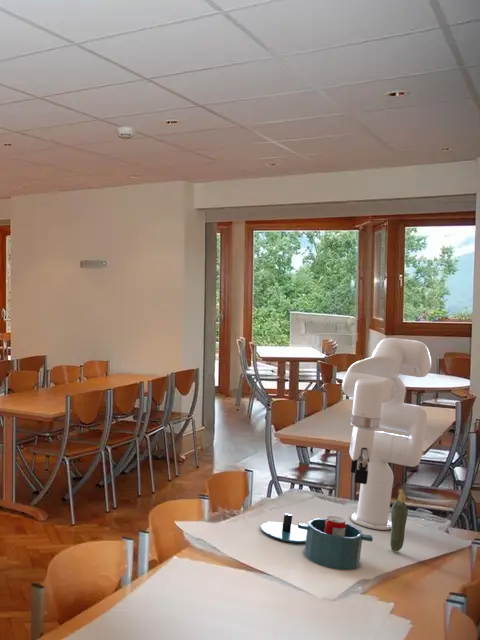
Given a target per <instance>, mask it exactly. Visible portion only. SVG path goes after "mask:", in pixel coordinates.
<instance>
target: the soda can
mask: <svg viewBox="0 0 480 640" xmlns="http://www.w3.org/2000/svg"><path fill="white" fill-rule="evenodd" d="M326 519H327V520H326V522H325V530H324V533H327V534H331V535H335V536H340V537H345V530H346V524H345V523H346V519H344V518H343V517H340V516H336V515H328V516H327V517H326Z"/></svg>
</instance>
